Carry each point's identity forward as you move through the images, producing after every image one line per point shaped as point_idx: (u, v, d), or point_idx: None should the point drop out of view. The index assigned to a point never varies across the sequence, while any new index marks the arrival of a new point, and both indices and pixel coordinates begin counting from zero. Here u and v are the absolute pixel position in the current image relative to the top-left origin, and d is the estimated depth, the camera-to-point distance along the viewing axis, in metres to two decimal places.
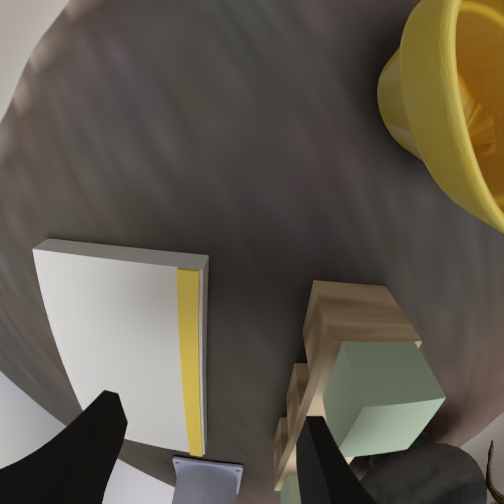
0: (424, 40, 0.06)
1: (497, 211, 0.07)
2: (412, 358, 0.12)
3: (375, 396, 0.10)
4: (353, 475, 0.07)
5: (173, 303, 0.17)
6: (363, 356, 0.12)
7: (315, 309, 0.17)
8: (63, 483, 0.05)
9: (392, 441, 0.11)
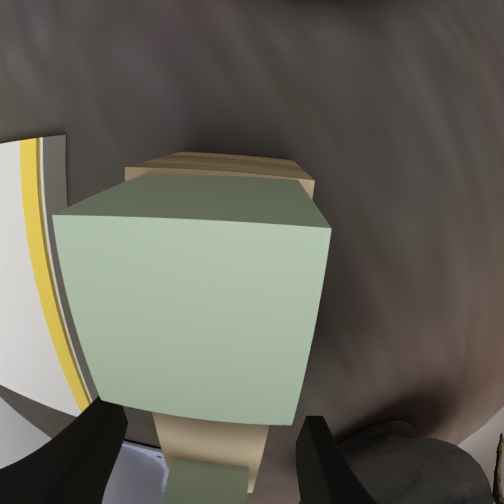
0: None
1: None
2: (272, 186, 0.06)
3: (101, 206, 0.04)
4: (353, 475, 0.07)
5: (21, 188, 0.12)
6: (158, 180, 0.07)
7: None
8: (63, 483, 0.05)
9: (220, 388, 0.05)
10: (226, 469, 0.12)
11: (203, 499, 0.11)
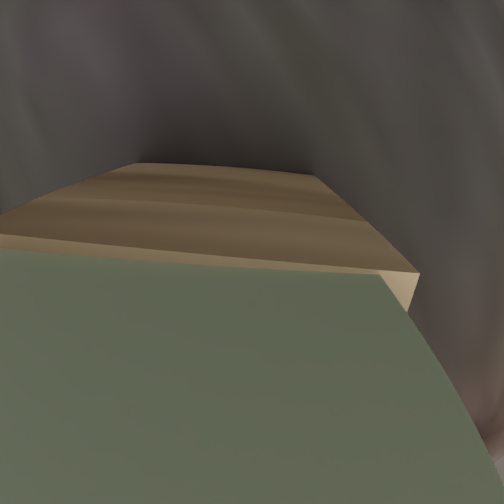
0: None
1: None
2: (334, 389, 0.01)
3: None
4: None
5: None
6: None
7: None
8: None
9: None
10: None
11: None
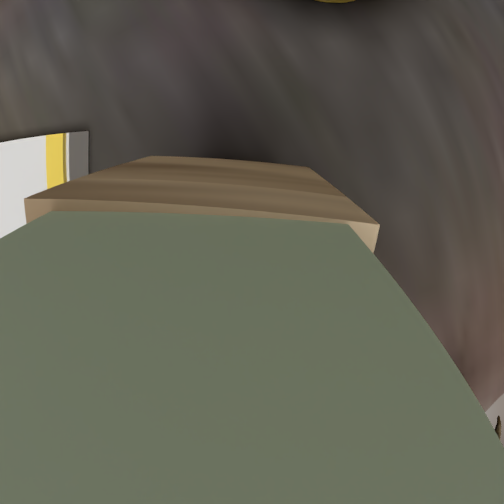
0: None
1: None
2: (308, 266, 0.02)
3: None
4: None
5: (46, 180, 0.13)
6: (47, 239, 0.03)
7: None
8: None
9: None
10: None
11: None
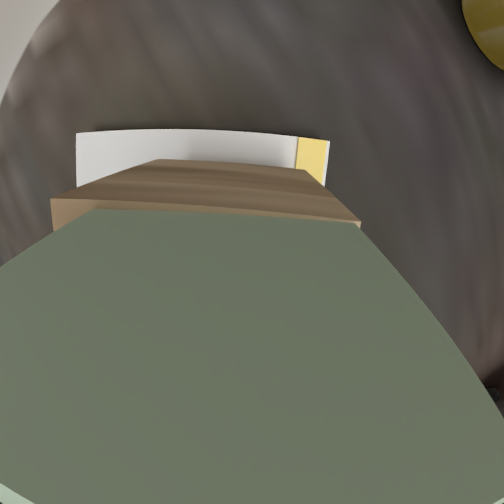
0: None
1: None
2: (327, 254, 0.03)
3: None
4: None
5: None
6: (103, 233, 0.03)
7: None
8: None
9: None
10: None
11: None
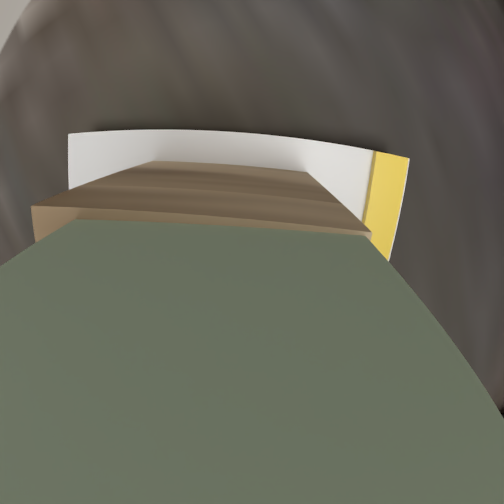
0: None
1: None
2: (338, 278, 0.03)
3: None
4: None
5: None
6: (81, 250, 0.03)
7: None
8: None
9: None
10: None
11: None
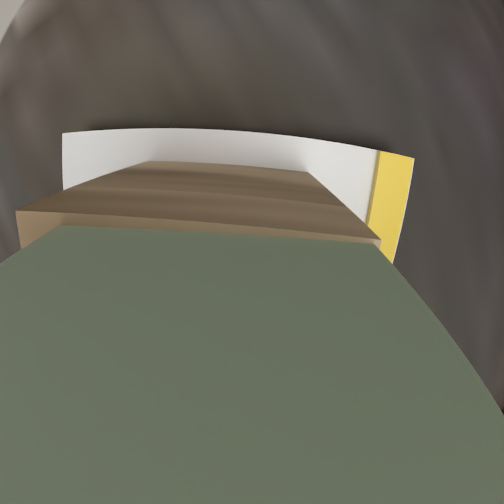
0: None
1: None
2: (347, 297, 0.02)
3: None
4: None
5: None
6: (61, 262, 0.02)
7: None
8: None
9: None
10: None
11: None
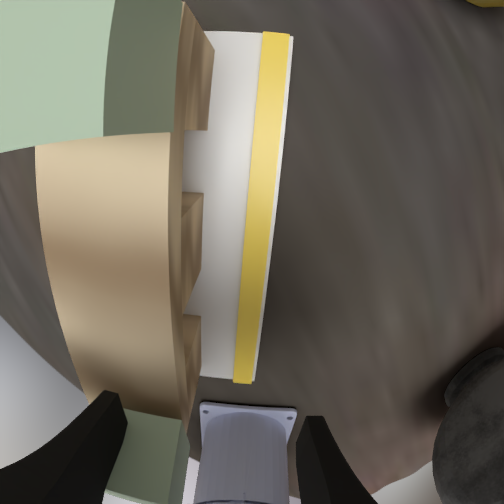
0: None
1: None
2: None
3: None
4: (353, 475, 0.07)
5: (252, 79, 0.12)
6: None
7: None
8: (63, 483, 0.05)
9: (40, 87, 0.04)
10: (154, 420, 0.11)
11: (124, 457, 0.09)
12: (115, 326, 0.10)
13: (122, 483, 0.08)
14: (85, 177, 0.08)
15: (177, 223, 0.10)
